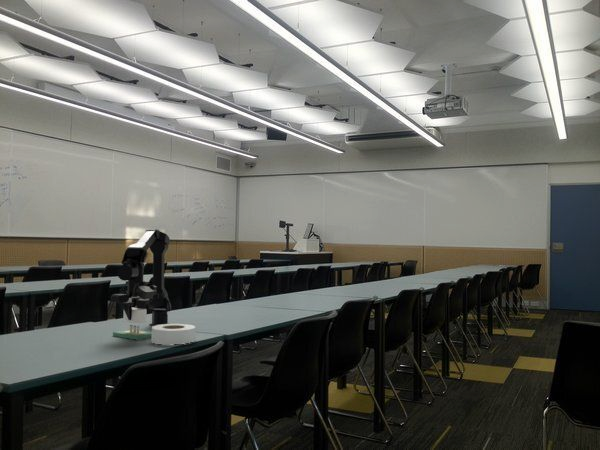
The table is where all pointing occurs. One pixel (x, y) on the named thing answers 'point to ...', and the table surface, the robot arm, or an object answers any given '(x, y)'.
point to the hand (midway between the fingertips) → (134, 319)
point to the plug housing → (136, 316)
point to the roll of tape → (173, 334)
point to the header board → (133, 333)
